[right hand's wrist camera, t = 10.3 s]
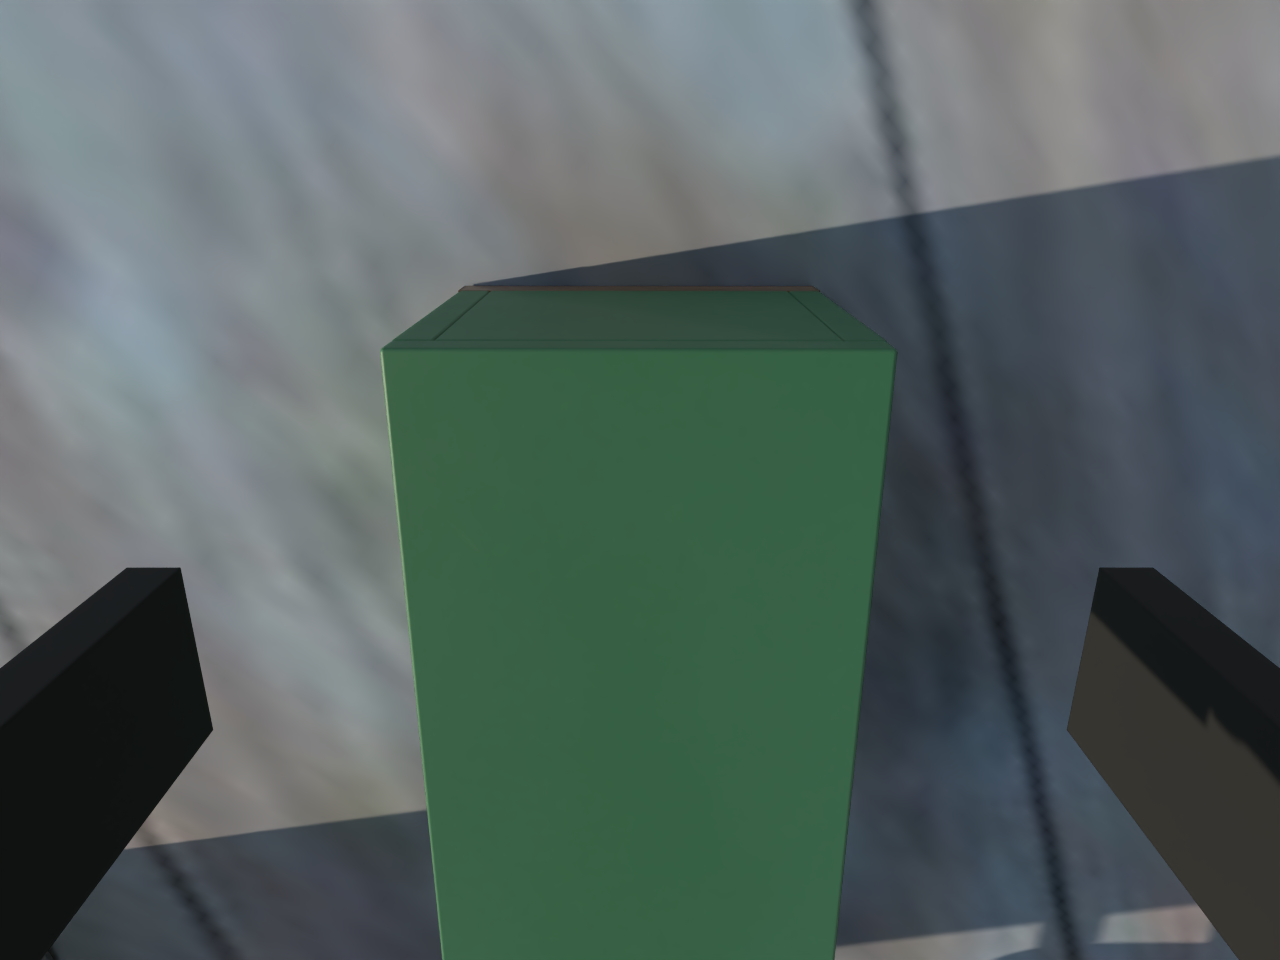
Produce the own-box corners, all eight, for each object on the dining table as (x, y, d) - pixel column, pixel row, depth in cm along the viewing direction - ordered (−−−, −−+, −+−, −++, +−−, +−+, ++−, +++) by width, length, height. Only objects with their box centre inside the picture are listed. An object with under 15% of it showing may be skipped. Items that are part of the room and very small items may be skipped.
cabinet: (780, 769, 32) (832, 994, 23) (497, 769, 32) (444, 994, 23) (813, 286, 26) (899, 348, 17) (464, 285, 26) (377, 347, 17)
